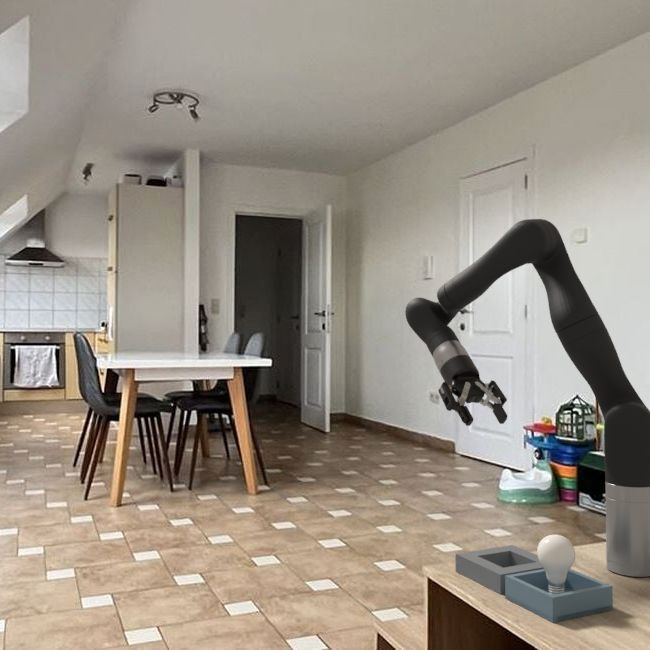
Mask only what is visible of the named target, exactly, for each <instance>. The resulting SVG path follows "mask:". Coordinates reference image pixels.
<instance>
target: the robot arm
mask: <svg viewBox="0 0 650 650" xmlns="http://www.w3.org/2000/svg"><path fill="white" fill-rule="evenodd" d="M572 263H573V262H572V261H571V258H570V256H569V253H568V250H567V248H566V245H565V243H564V240H563V237H562V235H561V234H560V232H559V230H558V228H557V227H556V226H555V225H554V224H553V223H552V222H551V221H549V220H547V219H543V218H531V219H523V220H520V221H518V222H516V223H515V224H513V225H512V226H511V227H510V228H509V229H508V230H507V231H506V232H504V234H503V235H502V236H501V237H500V238H499V239H498V240H497V241H496V242H495V243H494V244H493V246H492V247H491V248H489V249H488V250H487V251H486V252H485V253H484V254H482V256H481V257H480V256H479V258H478V259H477V260H476V261H474V262H473V263H472V264H470V265H468V267H466V268H465V269H463V270H462V271H460V272H459V273H457V274H456V275H454V277H452V278H451V279H449V280H448V281H446V282H445V283H444V284H442V285H441V286H440V287H439V288H438V289H437V291H436V297H437V300H438V301H437V302H436V301H432V300H429V299H427V298H424V297H414V298H412V299H410V301H409V302H408V303H407V304H406V307H405V312H404V313H405V314H404V315H405V319H406V322H407V324H408V326H409V327H410V328H411V330H412V331H413V332H414V333H415V334H416V335H417V337H418V338H419V339H420V340H421V341H422V342H423V343H424V344H425V345H426V347H427V349H428V351H429V353H430V354H431V357H432V358H433V361H434V364H435V366H436V369H437V370H438V372H439V373H440V375H441V378H442V379H443V382H442V383H441V385H440V387H439V388H438V393H439V395H440V398H441V399H442V402H443V405H444V406H445V409H446V411H449V412H451V411H452V410H453V411H454V412H455V413H457V414H458V415H459V417H460V420H461V421H462V423H463V424H464V425H465V426H466V427H467V426H468V427H469V426H471V425H472V424H473V422H474V417H473V416H472V414H471V411H470V410H469V409H468V406H467V405H465V404H472V403H473V404H474V403H476V404H481V405H482V406H483V407H487V408H489V409H491V410H492V413H493V414H494V416H495V418H496V420H497V421H498V423H499V424H501V425H502V424H505V422H506V421H507V419H508V413H506V411H505V409H504V405H505V404H506V402H507V401H508V399H507V397H506V395H505V394H504V393H503V391H502V390H501V388H500V386H499V385H498V384H497V382H496V381H495V380H490V382H489V383H487V382H486V383H484V381H482V380H481V378H480V372H479V369H478V368H477V366H476V365H475V363H474V360H472V358H471V356H470V355H469V353H468V351H467V349H466V348H465V347H464V345H462V343H461V342H460V340H459V338H458V336H457V334H456V333H455V331H454V330H453V328H451V327H450V326H448V325H449V324H450V323H451V322H452V320H453V319H455V318H456V316H457V315H458V314H459V312H460V311H461V310H462V309H464V308H466V307H467V306H469V305H470V304H471V303H473V302H474V301H476V300H477V299H478V298H479V297H481V296H482V295H484V294H485V292H487V291H488V289H490V287H491V286H492V285H493V284H494V283H495V282H497V280H499V279H500V278H502V277H503V276H504V275H506V274H508V273H509V272H511V271H513V270H515V269H517V268H520V267H522V266H525V265H527V264H529V265H530V264H532V265H533V268H534V269H535V271H536V272H537V274H538V276H539V278H540V280H541V282H542V284H543V285H544V289H545V292H546V296H547V303H548V309H549V315H550V320H551V321H550V322H551V323H552V328H553V330H554V331H555V332H554V333H556V335H557V338H558V339H559V341H560V343H561V345H562V347H563V349H564V351H565V353H566V354H567V356H568V357H569V360H570V361H571V362H572V364H573V365H574V366H575V368H576V369H577V371H578V372H579V373H580V375H581V376H582V378H584V380H585V381H586V382H587V385H588V387H590V390H591V391H592V393H593V395H594V397H595V400H596V401H597V405H598V406H599V409H600V412H601V414H602V417H603V420H604V424H603V439H604V440H603V441H604V442H603V446H604V447H603V448H604V450H603V451H604V472H605V473H604V474H605V475H604V476H605V477H604V478H605V539H606V540H605V541H606V542H605V543H606V546H605V548H606V550H605V552H606V557H605V558H606V559H605V560H606V568H607V570H609V571H611V572H613V573H615V574H618V575H621V576H628V577H636V578H637V577H638V578H639V577H640V578H645V577H650V409H649V408H648V407H647V406H646V404H645V403H644V402H643V400H642V399H641V398H640V396H639V394H638V393H637V391H636V390H635V388H634V386H633V385H632V383H631V382H630V380H629V378H628V377H627V375H626V373H625V371H624V368H623V366H622V363H621V361H620V357H619V355H618V352H617V349H616V347H615V345H614V342H613V340H612V337H611V335H610V333H609V331H608V329H607V327H606V325H605V323H604V321H603V319H602V317H601V315H600V314H599V311H598V310H597V308H596V307H595V305H594V303H593V302H592V299H591V297H590V296H589V294H588V292H587V290H586V287H585V286H584V284H583V283H582V281H581V279H580V278H579V276H578V274H577V273H576V270H575V268H574V266H573V264H572ZM485 395H486V397H485V399H484V396H485ZM455 396H456V397H457V398H455ZM492 402H493V403H492Z"/></svg>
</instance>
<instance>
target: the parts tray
mask: <svg viewBox="0 0 650 650" xmlns="http://www.w3.org/2000/svg"><path fill="white" fill-rule="evenodd" d="M548 585H549V584H548V579H547V577H546V572H545V570H544V569H541V570H535V571H529V572H523V573H518V574H512V575H506V576H505V595H504V597H505V599H506V600H508V601H510V602H512V603H514V604H516V605H518V606H520V607H521V608H523V609H525V610H527V611H529V612H530V613H534V614H535V615H537V616H539V617H541V618H544V619H545V620H547V621H549V622H551V623H558V622H561V621H567V620H571V619H575V618H582V617H586V616H591V615H595V614H599V613H605V612H610V611H613V610H614V608H613V605H614V601H613V600H614V599H613V598H614V596H613V593H614V592H613V591H614V589H613V585H611V584H609V583H606V582H603V581H601V580H598V579H596V578H594V577H591V576H588V575H587V574H583V573H580V572H578V571H576V570H573V569H572V568H570V570H569V571H568V573H567V577H566V581H565V586H564V590H565V591H564V593H560V594H554V595H552V594H550V593H548V592H549V591H548V590H549V588H548V587H549V586H548Z"/></svg>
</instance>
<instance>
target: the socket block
mask: <svg viewBox="0 0 650 650" xmlns="http://www.w3.org/2000/svg"><path fill="white" fill-rule="evenodd" d="M541 569H544V568H543V567H542V565H541V563H540V562H539V559H538V556H537V553H534V552H530V551H528V550H526V549H523V548H520V547H518V546H516V545H514V544H513V545H504V546H498V547H491V548H485V549H478V550H472V551H465V552H459V553H458V552H457V553H455V572H456V573H458V574H460V575H462V576H464V577H465V578H467V579H469V580H471V581H473V582H476V583H477V584H480V585H482V586H484V587H486V588H488V589H490V590H491V591H493V592H495V593H496V594H499V595H504V594H505V576H506V575H512V574H518V573H523V572H529V571H535V570H541Z"/></svg>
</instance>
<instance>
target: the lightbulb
mask: <svg viewBox="0 0 650 650" xmlns="http://www.w3.org/2000/svg"><path fill="white" fill-rule="evenodd" d="M575 550H576V549H575V547H574V545H573V544H572V542H571V541H570V539H568V538H567V537H565V536H562V535H560V534H549V535H546V536H544V537H543V538H541V540H540V541H539V543H538V545H537V549H536V555H537V556H538V559H539V562H540V563H541V565H542V567H543V568H544V570H545V572H546V577H547V579H548V584H549V585H548V586H549V587H548V588H549V590H548V591H549V592H548V593H550V594H552V595H554V594H560V593H564V591H565V590H564V586H565V581H566V577H567V573H568V571H569V570H570V569H572V567H573V565H574V563H575V560H576V551H575Z"/></svg>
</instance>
